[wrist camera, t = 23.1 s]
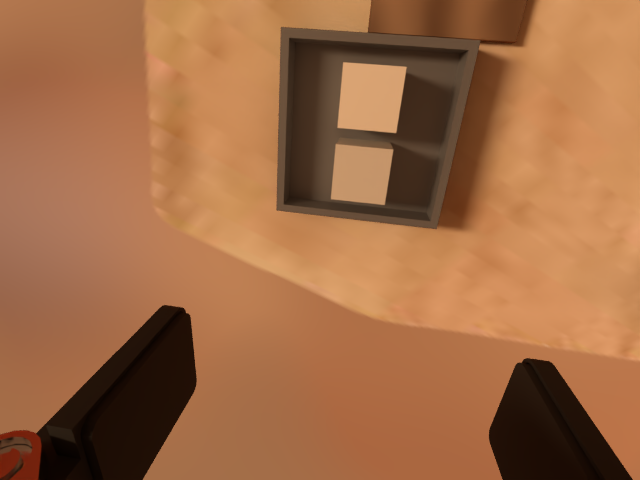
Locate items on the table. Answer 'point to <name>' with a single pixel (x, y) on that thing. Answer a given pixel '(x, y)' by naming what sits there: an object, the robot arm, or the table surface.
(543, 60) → the table surface
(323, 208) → the charcoal bin
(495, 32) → the walnut board
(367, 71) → the peach cube
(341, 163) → the beige cube
